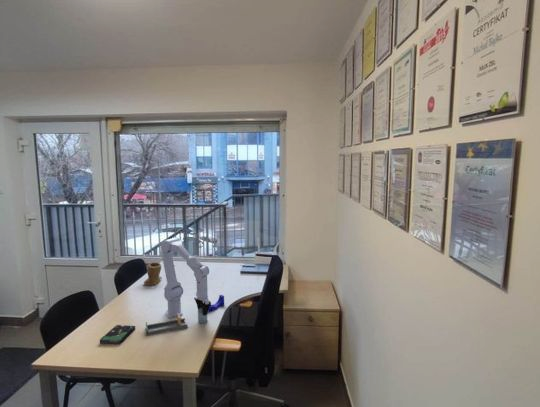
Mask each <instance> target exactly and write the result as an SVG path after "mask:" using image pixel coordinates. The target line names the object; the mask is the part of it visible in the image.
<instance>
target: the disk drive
mask: <svg viewBox="0 0 540 407" xmlns="http://www.w3.org/2000/svg"><path fill="white" fill-rule="evenodd" d="M135 331H136V325H123V326H122V324H116V325H115V326H114V327H113V328H112V329H110V330H109V331H107V333H105V335H103V336H102V337H101V338H100V339H99V344H100V345H112V346H113V345H114V346H120V345H121V344H122V343H124V342H125V340H127V338H128V337H130V336H131V335H132V334H133V333H134V332H135Z"/></svg>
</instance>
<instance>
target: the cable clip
mask: <svg viewBox="0 0 540 407" xmlns="http://www.w3.org/2000/svg"><path fill="white" fill-rule="evenodd" d="M209 302H211V301H210V300H209ZM223 306H225V296H224V295H222V294H219V295H218V299H217V301H216V302H215V303H213V304H211V305H210V307H209V310H208V313H210V312H213V311H216V310H218V309H219V308H220V307H223Z"/></svg>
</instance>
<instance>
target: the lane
mask: <svg viewBox="0 0 540 407" xmlns="http://www.w3.org/2000/svg"><path fill="white" fill-rule="evenodd" d="M188 328H189V326H188V323H187V321H186V318H185V317H184V318H181V325H178V323H177V319H173V320H172V319H171V320H167V321H161V322H156V323H150V324H148V322H147V321H146V322H145V328H144V329H145V330H144V331H145V336H146V337H147V336H154V335H157V334H164V333H169V332H174V331H179V330H184V329H188Z"/></svg>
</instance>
